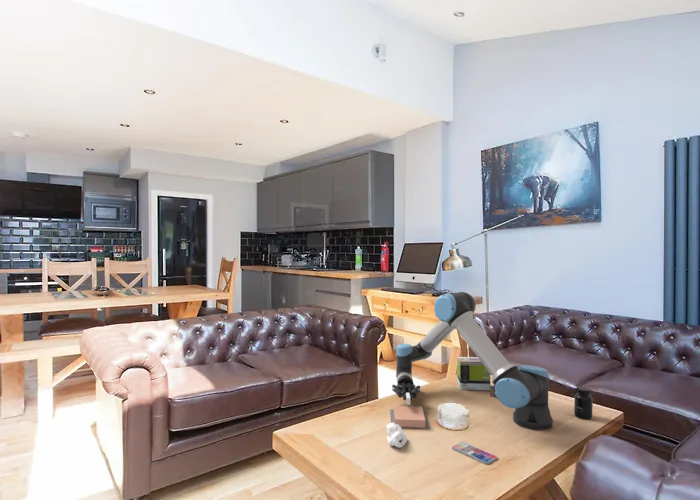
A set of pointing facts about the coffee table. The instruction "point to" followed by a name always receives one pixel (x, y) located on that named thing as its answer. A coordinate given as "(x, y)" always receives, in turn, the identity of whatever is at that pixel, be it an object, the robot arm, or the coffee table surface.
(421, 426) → the tile
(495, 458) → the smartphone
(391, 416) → the mat
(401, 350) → the robot arm
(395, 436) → the white lumpy piece
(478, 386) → the tea box
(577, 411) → the supplement bottle
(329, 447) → the coffee table surface
